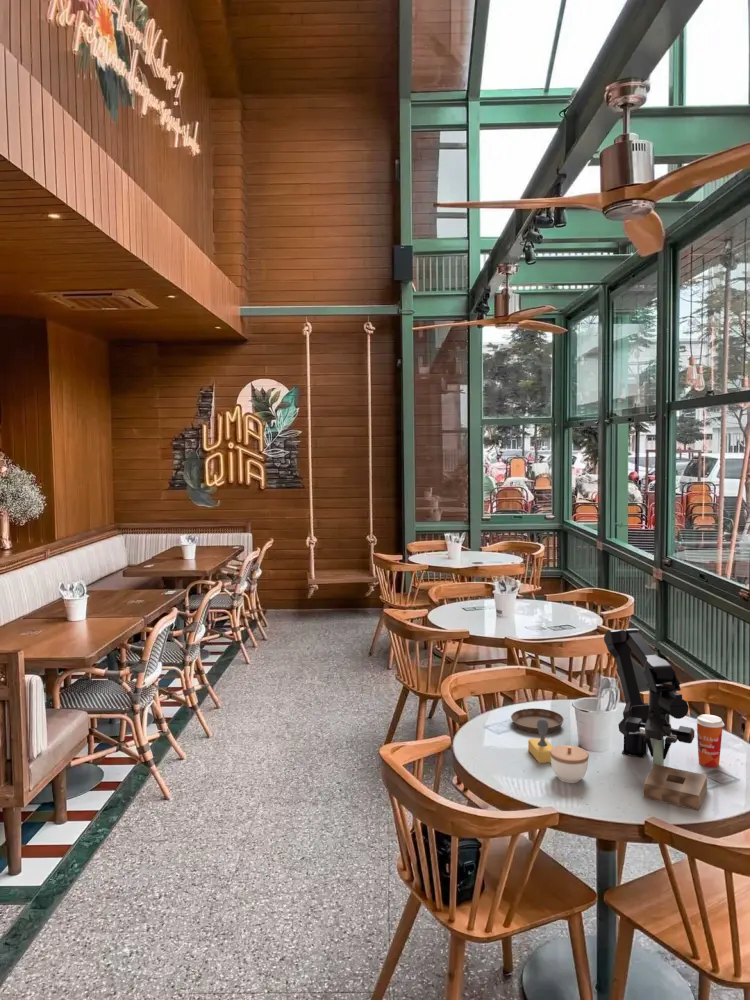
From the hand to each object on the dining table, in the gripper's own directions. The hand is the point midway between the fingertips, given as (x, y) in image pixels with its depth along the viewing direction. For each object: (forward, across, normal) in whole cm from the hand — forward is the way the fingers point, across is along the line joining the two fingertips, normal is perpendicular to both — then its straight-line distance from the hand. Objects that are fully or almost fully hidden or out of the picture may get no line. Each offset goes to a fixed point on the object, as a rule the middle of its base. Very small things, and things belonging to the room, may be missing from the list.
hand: (658, 757), depth 220 cm
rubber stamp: (+4, -33, -7) cm, 34 cm away
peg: (+4, 0, 0) cm, 4 cm away
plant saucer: (+4, -43, +16) cm, 46 cm away
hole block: (+4, +7, -12) cm, 14 cm away
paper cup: (+4, +12, +13) cm, 18 cm away
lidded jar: (+4, -21, -18) cm, 28 cm away
